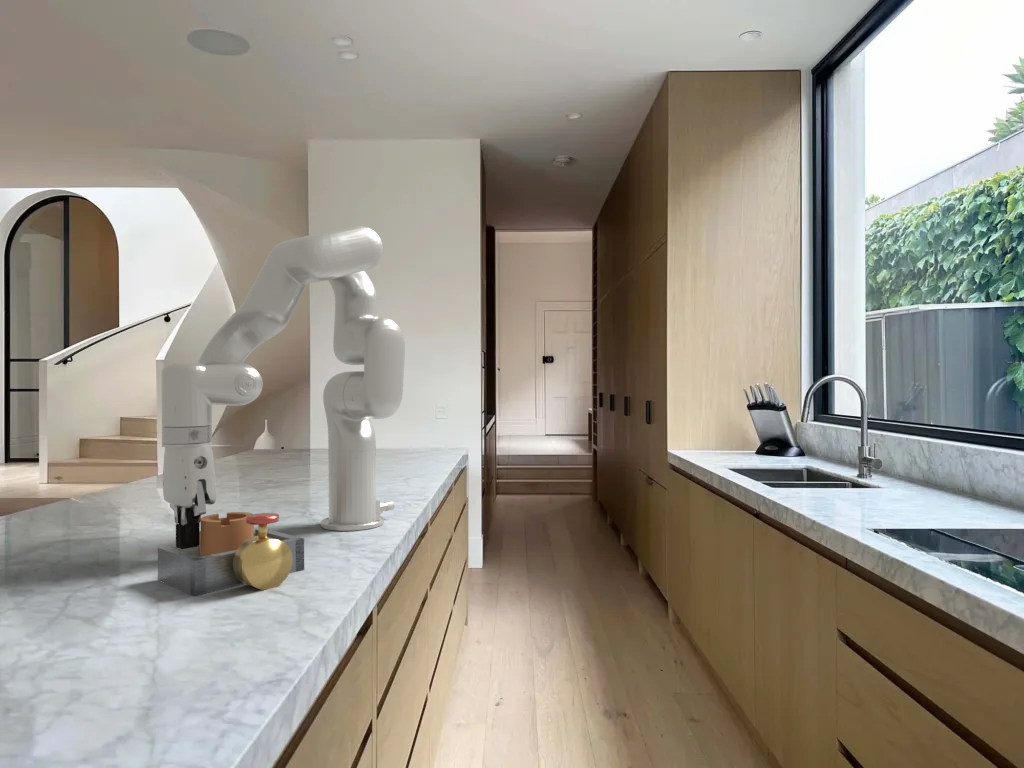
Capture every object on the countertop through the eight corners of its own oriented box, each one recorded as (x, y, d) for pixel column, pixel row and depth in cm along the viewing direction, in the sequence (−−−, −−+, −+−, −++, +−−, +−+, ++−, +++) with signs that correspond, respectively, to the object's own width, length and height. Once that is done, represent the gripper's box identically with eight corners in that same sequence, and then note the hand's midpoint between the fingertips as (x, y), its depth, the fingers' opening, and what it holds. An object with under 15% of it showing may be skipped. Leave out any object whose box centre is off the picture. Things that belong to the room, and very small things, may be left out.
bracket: (256, 560, 113) (256, 518, 113) (201, 566, 109) (201, 523, 109) (246, 538, 129) (246, 502, 129) (198, 543, 125) (198, 505, 125)
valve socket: (263, 558, 113) (263, 497, 113) (322, 576, 102) (322, 508, 102) (157, 581, 100) (157, 512, 100) (212, 604, 89) (211, 527, 89)
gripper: (231, 437, 111) (231, 549, 111) (189, 433, 120) (190, 536, 120) (184, 440, 105) (185, 559, 105) (144, 436, 115) (145, 544, 115)
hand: (187, 546), depth 113 cm, fingers closed
